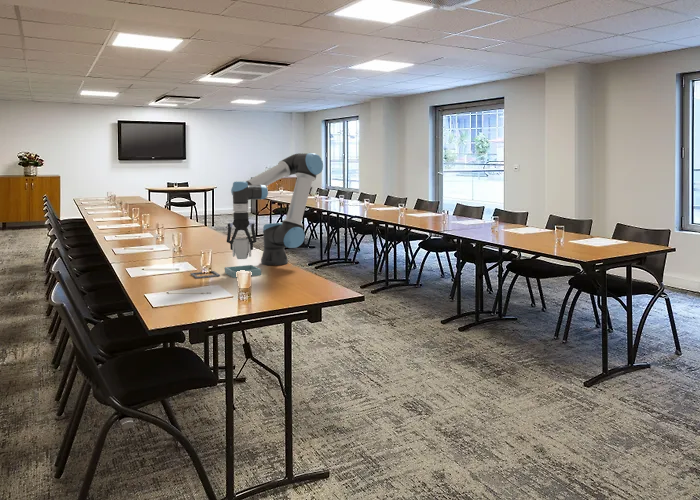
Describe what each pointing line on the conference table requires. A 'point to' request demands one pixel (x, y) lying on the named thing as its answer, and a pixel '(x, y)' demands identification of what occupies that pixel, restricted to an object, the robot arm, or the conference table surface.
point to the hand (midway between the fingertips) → (242, 256)
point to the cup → (241, 248)
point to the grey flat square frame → (205, 276)
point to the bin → (232, 270)
